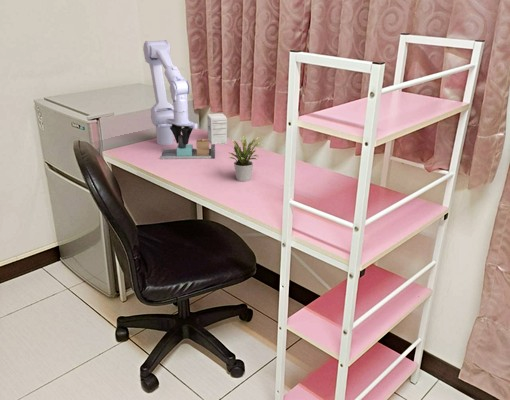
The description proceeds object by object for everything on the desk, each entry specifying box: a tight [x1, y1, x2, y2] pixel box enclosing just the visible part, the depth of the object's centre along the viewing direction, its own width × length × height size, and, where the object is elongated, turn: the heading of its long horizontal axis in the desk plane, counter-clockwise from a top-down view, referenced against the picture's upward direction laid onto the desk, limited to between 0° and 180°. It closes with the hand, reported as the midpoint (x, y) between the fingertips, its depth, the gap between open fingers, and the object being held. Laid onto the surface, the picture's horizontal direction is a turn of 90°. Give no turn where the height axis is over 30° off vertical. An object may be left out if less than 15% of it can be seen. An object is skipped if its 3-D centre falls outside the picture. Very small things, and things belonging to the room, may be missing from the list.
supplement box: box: [206, 112, 228, 146], centre depth 223 cm, size 7×7×13 cm
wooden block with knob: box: [196, 138, 210, 156], centre depth 206 cm, size 5×5×6 cm
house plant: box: [228, 135, 264, 182], centre depth 183 cm, size 14×14×16 cm
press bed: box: [159, 143, 216, 160], centre depth 206 cm, size 10×22×4 cm, turn 94°
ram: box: [176, 134, 194, 156], centre depth 205 cm, size 8×6×8 cm
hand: (182, 143), depth 205 cm, fingers open, 3 cm apart
